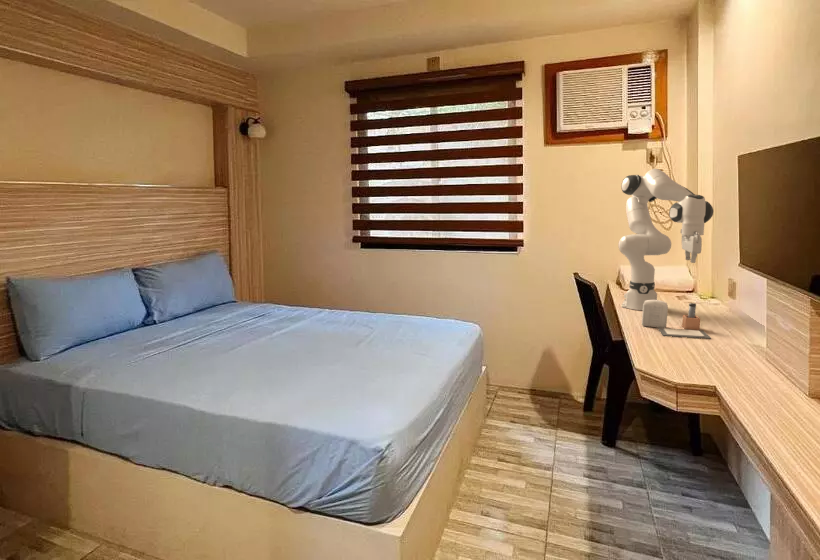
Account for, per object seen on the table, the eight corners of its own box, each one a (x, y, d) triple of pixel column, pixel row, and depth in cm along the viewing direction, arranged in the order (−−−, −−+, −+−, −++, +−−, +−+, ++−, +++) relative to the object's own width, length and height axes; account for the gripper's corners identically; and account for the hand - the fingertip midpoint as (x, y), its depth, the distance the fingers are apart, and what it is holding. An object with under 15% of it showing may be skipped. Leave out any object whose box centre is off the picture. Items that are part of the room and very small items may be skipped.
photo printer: (666, 326, 231) (668, 300, 229) (666, 328, 228) (668, 301, 226) (642, 324, 236) (643, 298, 234) (641, 326, 233) (642, 299, 231)
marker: (693, 327, 228) (695, 303, 226) (694, 328, 225) (696, 304, 223) (686, 326, 229) (688, 302, 227) (687, 328, 226) (689, 304, 224)
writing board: (657, 329, 227) (658, 327, 227) (703, 331, 222) (703, 329, 222) (663, 336, 216) (663, 334, 216) (710, 339, 211) (710, 337, 211)
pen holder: (681, 326, 231) (682, 315, 230) (696, 327, 229) (697, 315, 228) (684, 330, 225) (685, 317, 224) (699, 330, 224) (700, 318, 223)
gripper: (706, 232, 219) (704, 264, 221) (694, 229, 238) (692, 258, 240) (690, 232, 220) (688, 264, 223) (679, 229, 240) (677, 258, 242)
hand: (690, 261), depth 232 cm, fingers open, 8 cm apart
